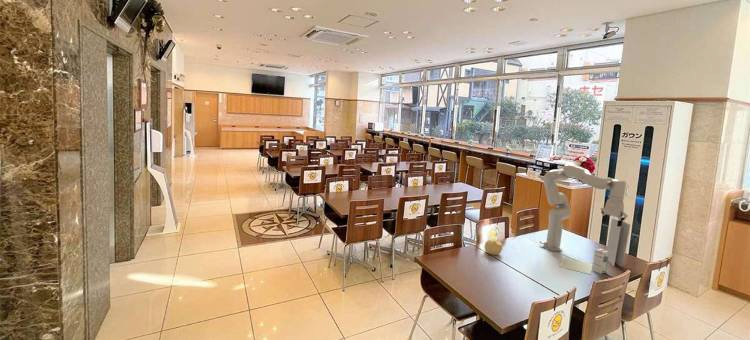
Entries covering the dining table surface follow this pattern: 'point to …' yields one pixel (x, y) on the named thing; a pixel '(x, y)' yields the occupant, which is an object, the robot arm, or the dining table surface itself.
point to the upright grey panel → (617, 242)
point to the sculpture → (493, 246)
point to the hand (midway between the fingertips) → (611, 223)
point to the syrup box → (600, 260)
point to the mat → (576, 265)
